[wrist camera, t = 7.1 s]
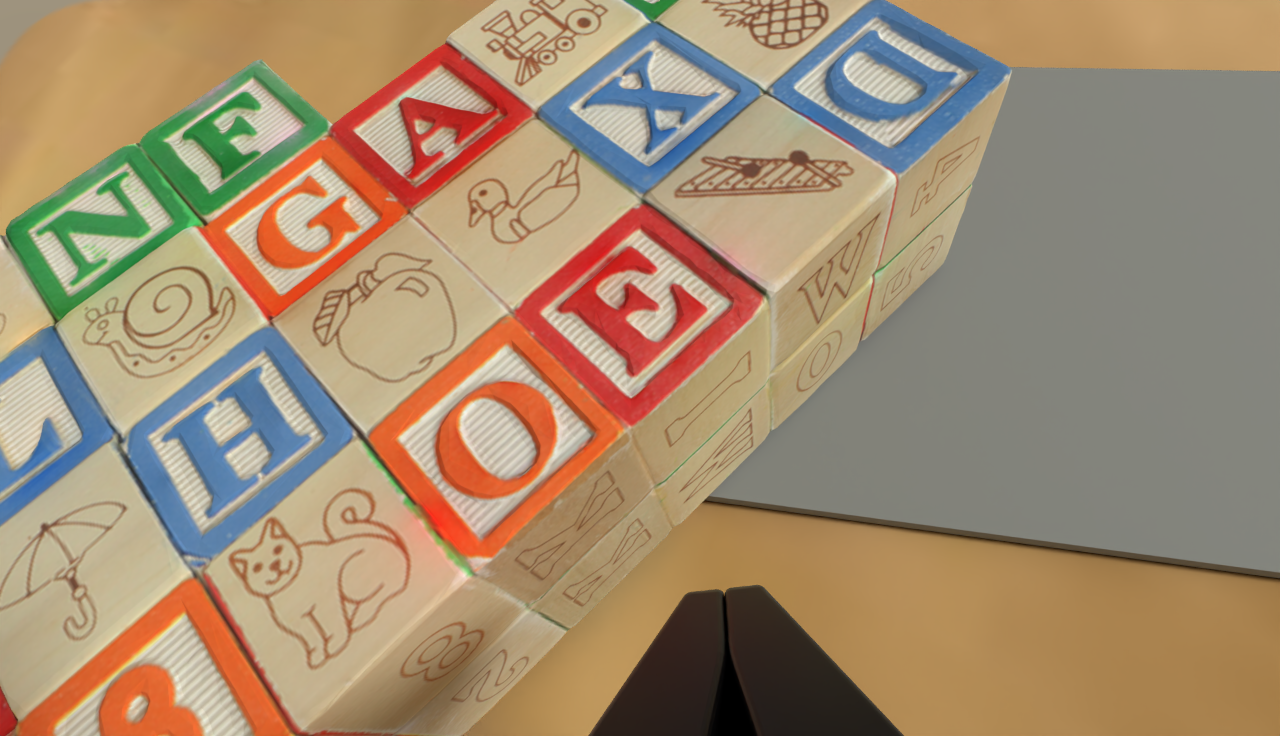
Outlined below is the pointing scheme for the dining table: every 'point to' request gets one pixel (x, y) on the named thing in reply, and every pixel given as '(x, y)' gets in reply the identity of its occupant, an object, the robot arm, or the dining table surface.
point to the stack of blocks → (441, 350)
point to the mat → (1076, 339)
